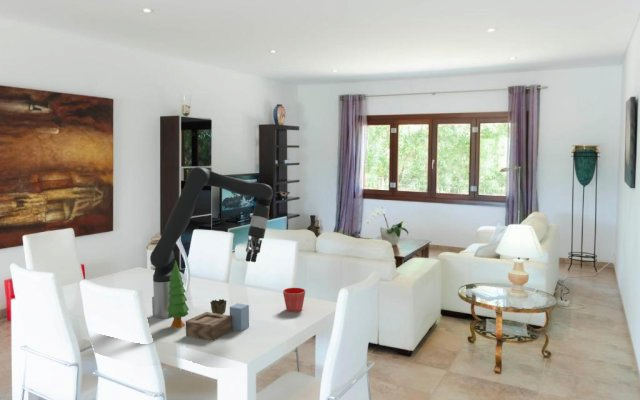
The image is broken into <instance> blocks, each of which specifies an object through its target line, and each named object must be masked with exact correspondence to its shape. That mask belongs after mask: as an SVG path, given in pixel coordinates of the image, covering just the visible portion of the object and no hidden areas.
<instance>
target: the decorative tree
mask: <svg viewBox="0 0 640 400" xmlns="http://www.w3.org/2000/svg"><path fill="white" fill-rule="evenodd" d="M169 280H171V281H170V285H169V288H170V291H169V295H170V298H169V300H168V301H169V302H170V304H169V306H168V309H167V312H169V314H168V318H173V321H172V322H171V327H172V328H173V329H181V328H183V327H186V323H184V322H183V321H182V318H184V317H186V316H189V313H188V311H190V309H189V306H188V305H187V303H186V301H187V300H188V299H187V297H186V295H185V294H186V289H185V287H184V285H185V284H184V281H183V277H182V275H181V272H180V269H179V266H178V262H177V260H176V259H174V268H173V271H172V274H171V276H170V278H169Z"/></svg>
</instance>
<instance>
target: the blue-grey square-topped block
mask: <svg viewBox="0 0 640 400" xmlns="http://www.w3.org/2000/svg"><path fill="white" fill-rule="evenodd" d="M249 306H250V305H249V304H243V303H235V304H234V305H231V306H229V316H232V331H240V332H242V331H244V330H246V329H249V327H250V307H249Z"/></svg>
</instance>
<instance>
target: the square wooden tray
mask: <svg viewBox="0 0 640 400" xmlns="http://www.w3.org/2000/svg"><path fill="white" fill-rule="evenodd" d="M232 331H233V330H232V316H230V314H228V315H227V314H216V313H212V312H207V311H205V312H203V313H201V314H198V315H196V316H194V317H192V318H190V319H187V320H185V336H186V337H190V338H195V339H200V340H205V339H206V340H207V341H211V340H214V341H216V340H217V339H219V338H221V337H223V336H225V335H226V334H229V333H230V332H232ZM215 339H216V340H215Z"/></svg>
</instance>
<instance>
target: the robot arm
mask: <svg viewBox="0 0 640 400" xmlns="http://www.w3.org/2000/svg"><path fill="white" fill-rule="evenodd" d="M186 177H187V178H186V180H185V183H184V186H183V189H182V191H181V194H179V195H180V196H179V197H178V199H177V201H176V202H175V204H174V205H173V206H174V207H173V208H172V210H171V213H170V215H169V216H168V220H167V222H166V224H165V227H164V228H163V231H162V234H161V236H160V238H159V240H158V242H157V243H156V245H155V247H154V249H153V250H152V252H151V254H150V258H149V260H150V263H151V265H152V266H153V267H154V268H155V269H154V273H153V275H152V283H153V287H152V288H153V296H152V297H151V306H152V307H151V309H152V318H156V319H167V318H168V319H169V317H168V314H169V312H167V309H168V306H169V304H170V302H169V301H168V300H169V298H170V295H169V291H170V288H169V285H170V281H171V280H169V278H170V276H171V274H172V271H173V268H174V264H175V252H174V250H173V249H174V247H175V245H176V244H177V242H178V240H179V239H180V237H181V236H182V235H183V233H184V232H185V230H186V229H187V227H188V225H189V224H190V221H191V219H192V217H193V214H194V210H195V205H196V202H197V199H198V197H199V195H200V193H201V192H202V190H203V188H204V187H207V186H208V187H213V188H214V187H215V188H219V189H222V190H225V191H228V192H230V193H234V194H237V195H241V196H245V197H254V198H257V199H256V202H255V205H254V208H253V212H252V216H251V220H250V224H249V228H248V233H247V236H249V237H250V239H248V240H247V244H246V249H245V252H246V257H245V262H252V263H256V262H257V257H258V254H260V252H261V247H262V243H263V239H264V238H265V235H266V228H267V224H268V218H269V214H270V213H269V212H270V207H271V203H272V200H273V196H274V192H273V188H272V186H270V185H268V184H266V183H262V182H261V183H260V182H253V181H249V180H246V179H242V178H238V177H232V176H227V175H224V174H221V173H217V172H214V171H213V170H210V169H209V168H205V167H204V166H196V167H194V168H192V169H190V171H189V172H188V175H187V176H186Z"/></svg>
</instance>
